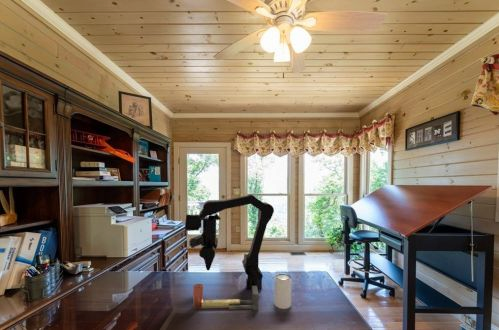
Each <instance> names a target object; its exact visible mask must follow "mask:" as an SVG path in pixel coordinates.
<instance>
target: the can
mask: <svg viewBox="0 0 499 330" xmlns="http://www.w3.org/2000/svg"><path fill="white" fill-rule="evenodd" d="M273 297H274V301H273V302H274V303H273V304H274V306H275V307H276V308H278V309H281V310H283V309H284V310H287V309H289V308H291V307H292V280H291V276H290V275H289V274H287V273H277V274H275V278H274V296H273Z"/></svg>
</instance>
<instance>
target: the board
mask: <svg viewBox="0 0 499 330" xmlns="http://www.w3.org/2000/svg"><path fill="white" fill-rule="evenodd" d="M228 309H229V310H252V311H257V312H258V311H259V290H258V289H257V286H252V290H251V299H240V305H232V306H229V308H228Z"/></svg>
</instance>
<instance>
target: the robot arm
mask: <svg viewBox="0 0 499 330" xmlns="http://www.w3.org/2000/svg"><path fill="white" fill-rule="evenodd" d="M247 205H252V207H254V208H256V209H257V210H258V211H257V223H256V226H255V231H254V235H253V238H252V241H251V245H250V248H249V251H248V252H247V253H244V255H243V259H242V261H241V263H242V267H243V270H244V273H245V274H246V275H247V278H245V279H246V280H245V288H246V289H245V290H247V291H248V290H249V291H252V286H257V289H258V291H260V290H262V288H263V278H264V277H263V276H264V275H263V272H262V271H261V269H260V267H259V264H260V263H259V260H260V259H259V255H260V251H261V247H262V243H263V240H264V236H265V233H266V229H267V226H268V224H269V222H270V221H271V219H272V217H273V215H274V213H275V209H274V207H273V205H272V204H270V203H268V202H265V201H263V202H262V201H261V200H260V199H258V198H257V197H256V196H254V195H253V194H252V193H250V194H247V195H243V196H238V197H232V198H228V199H222V200H221V199H220V200H218V199H211V200H209V199H208V200H206V201H204V203H203V205H202V206H203V207H202V209H201V211H200V212H199V214H190V213H189V214H186V215H185V223H184V229H185V231H189V232H190V231H191V232H192V231H199V230H200V229H201V228H202V233H201V234H200V235H197V236H194V237H191V238H190V239H189V240H188V243H189V246H190V248H191V249H194V248H195V247H198V246H201V248H200V249H199V255H198V256H199V257H200V258H201V259H203V260H204V265H205V268H206V271H210V270H211V267H212V264H213V261H214V259H215V257H216V252H217V251H216V250H217V247H218V244H219V239H218V238H217V221H220V220H221V216H219V215H218V213H220V212H222V211H224V210H228V209H232V208H237V207H242V206H247Z"/></svg>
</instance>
